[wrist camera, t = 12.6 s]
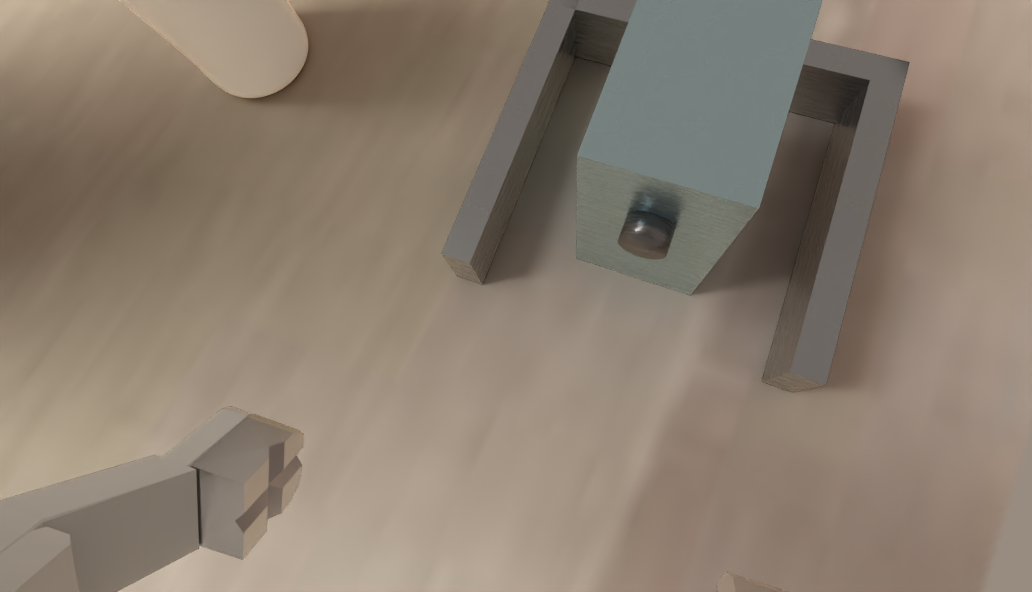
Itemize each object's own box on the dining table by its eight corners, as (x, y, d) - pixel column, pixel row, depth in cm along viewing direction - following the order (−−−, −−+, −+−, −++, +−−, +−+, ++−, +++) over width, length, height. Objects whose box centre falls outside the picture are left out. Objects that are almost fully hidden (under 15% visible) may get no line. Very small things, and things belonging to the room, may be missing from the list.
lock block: (683, 315, 23) (749, 239, 14) (569, 277, 24) (566, 183, 15) (736, 151, 24) (824, -8, 16) (627, 121, 25) (654, -44, 17)
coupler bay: (792, 392, 22) (826, 384, 19) (457, 275, 24) (441, 253, 21) (869, 107, 24) (909, 62, 21) (560, 30, 27) (558, -20, 24)
